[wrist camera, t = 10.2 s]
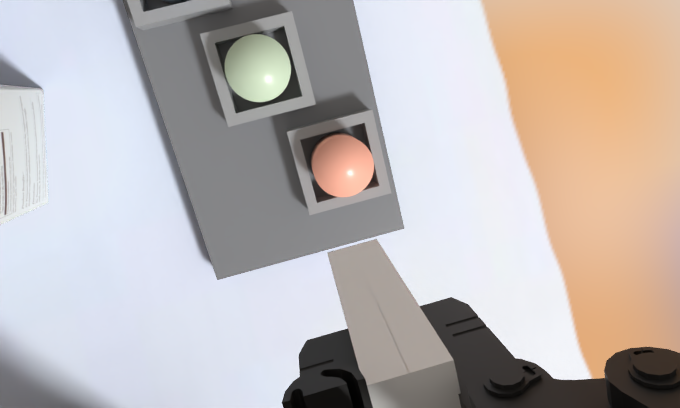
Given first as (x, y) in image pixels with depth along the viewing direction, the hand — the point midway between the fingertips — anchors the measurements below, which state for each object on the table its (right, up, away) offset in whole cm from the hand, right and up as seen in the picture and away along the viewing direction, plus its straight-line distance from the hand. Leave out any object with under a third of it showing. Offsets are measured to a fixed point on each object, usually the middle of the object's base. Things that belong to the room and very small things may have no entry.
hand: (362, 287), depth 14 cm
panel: (-7, +13, +23) cm, 28 cm away
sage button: (-7, +12, +21) cm, 25 cm away
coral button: (-1, +6, +23) cm, 24 cm away
